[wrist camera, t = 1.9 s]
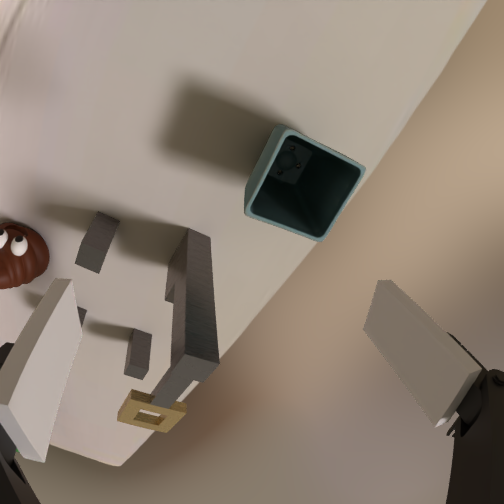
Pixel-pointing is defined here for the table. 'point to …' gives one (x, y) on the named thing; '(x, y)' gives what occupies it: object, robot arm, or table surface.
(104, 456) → the table surface
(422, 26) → the table surface
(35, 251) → the poop emoji
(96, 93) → the table surface
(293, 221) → the flower pot
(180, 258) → the sight ring stand
